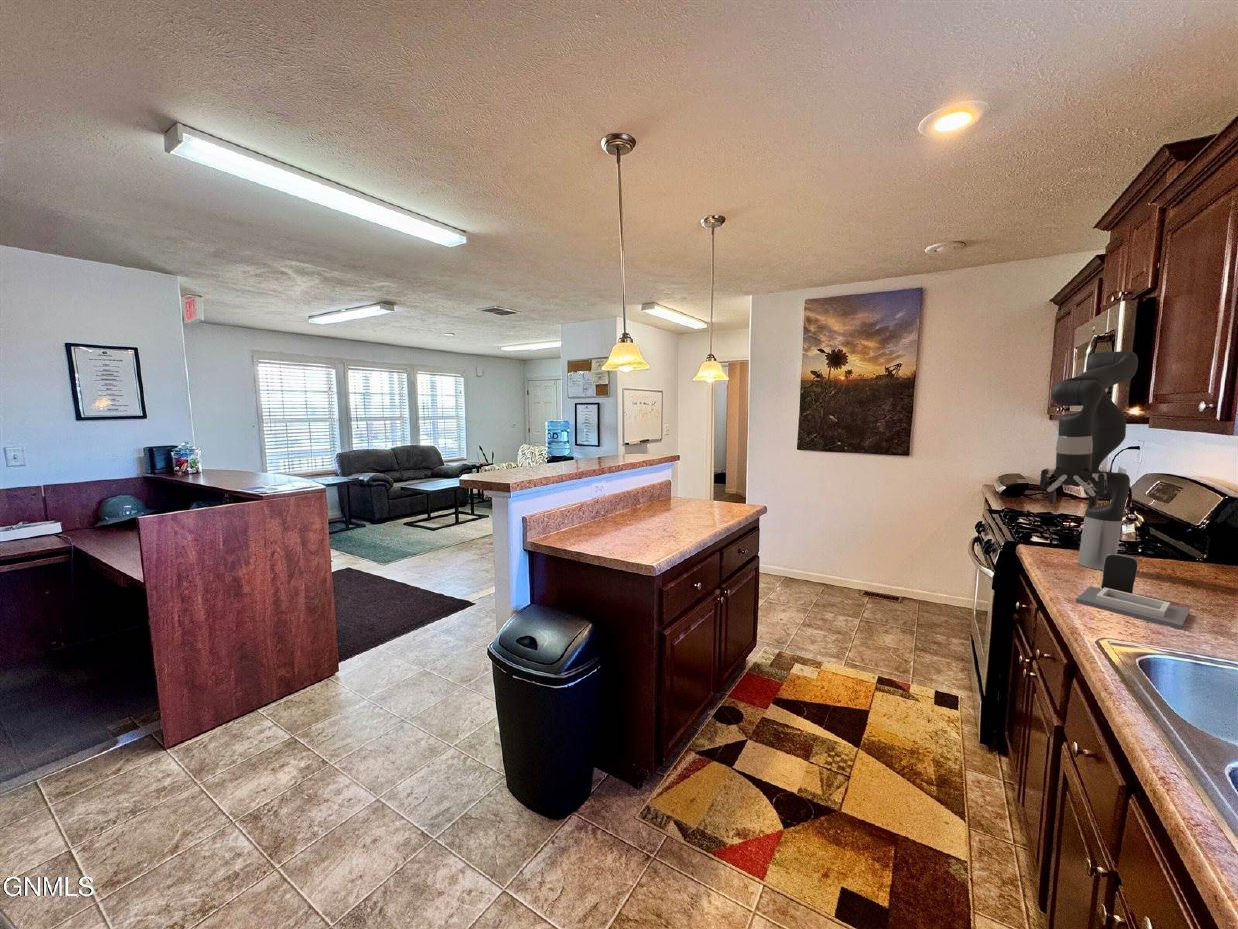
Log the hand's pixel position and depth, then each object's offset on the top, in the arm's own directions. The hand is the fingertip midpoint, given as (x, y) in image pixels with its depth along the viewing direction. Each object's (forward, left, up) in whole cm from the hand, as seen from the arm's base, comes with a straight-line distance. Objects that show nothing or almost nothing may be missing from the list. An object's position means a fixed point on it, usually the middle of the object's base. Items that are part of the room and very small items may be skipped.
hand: (1071, 505), depth 142 cm
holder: (-4, +15, -27) cm, 31 cm away
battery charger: (-18, +10, -27) cm, 34 cm away
